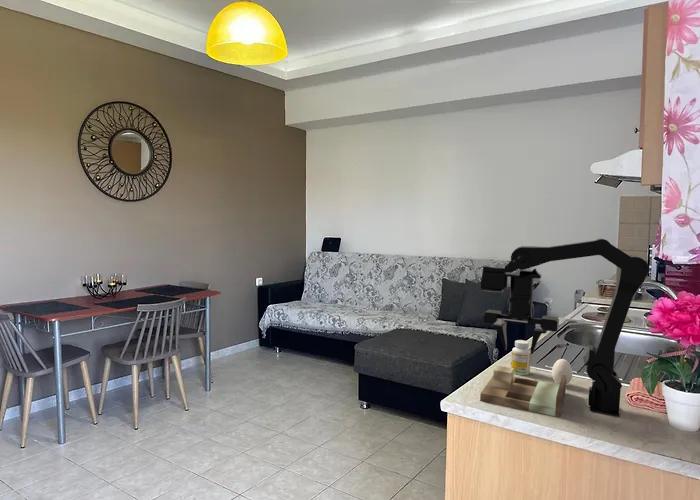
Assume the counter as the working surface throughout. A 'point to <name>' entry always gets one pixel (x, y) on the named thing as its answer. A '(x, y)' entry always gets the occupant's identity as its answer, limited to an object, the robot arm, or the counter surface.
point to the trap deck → (528, 395)
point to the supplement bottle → (521, 358)
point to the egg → (561, 371)
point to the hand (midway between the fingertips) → (518, 351)
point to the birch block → (503, 377)
